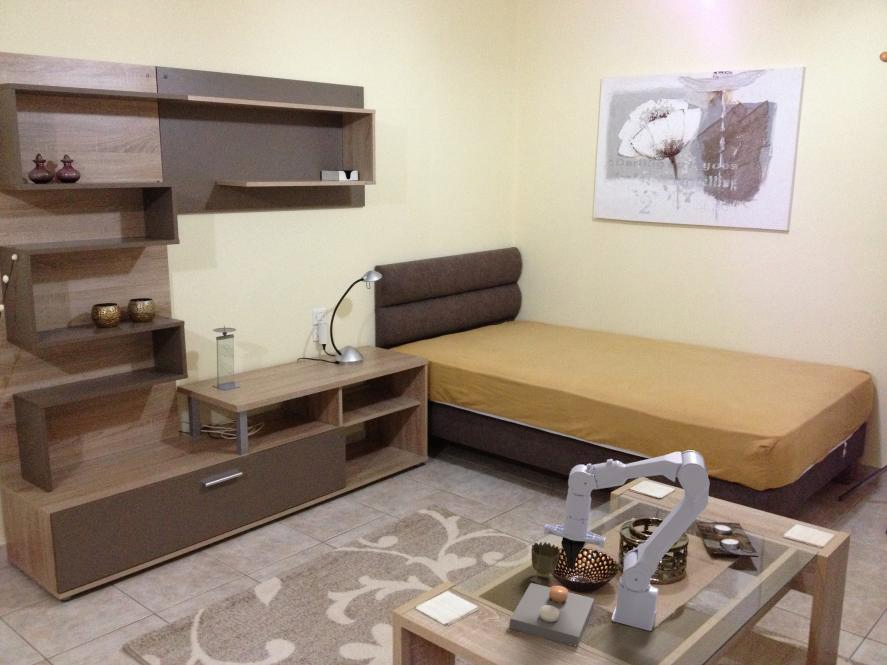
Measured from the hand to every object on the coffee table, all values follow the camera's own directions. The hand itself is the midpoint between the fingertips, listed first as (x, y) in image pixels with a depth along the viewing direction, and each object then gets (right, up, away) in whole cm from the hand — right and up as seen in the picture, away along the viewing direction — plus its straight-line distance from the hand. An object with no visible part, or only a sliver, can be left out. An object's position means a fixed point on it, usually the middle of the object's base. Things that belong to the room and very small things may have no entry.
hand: (570, 566), depth 198 cm
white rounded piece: (-7, -12, -8) cm, 15 cm away
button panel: (-5, -11, -3) cm, 13 cm away
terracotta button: (-3, -9, 0) cm, 10 cm away
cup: (-5, -7, +15) cm, 18 cm away
